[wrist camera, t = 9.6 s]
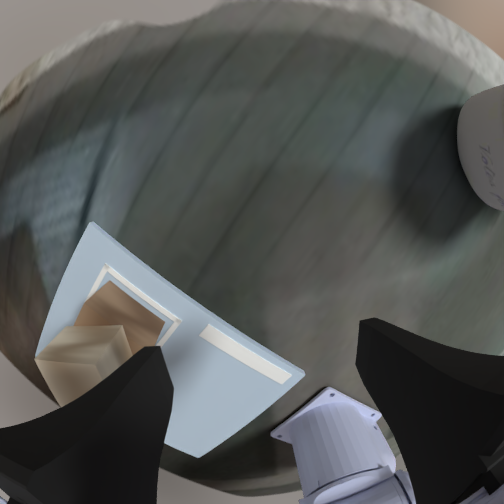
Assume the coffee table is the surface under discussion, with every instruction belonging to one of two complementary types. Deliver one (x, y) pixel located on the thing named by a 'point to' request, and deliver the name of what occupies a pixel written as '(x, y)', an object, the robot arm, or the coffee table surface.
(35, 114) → the coffee table surface
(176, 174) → the coffee table surface
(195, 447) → the board
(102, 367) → the maple block
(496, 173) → the teacup
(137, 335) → the walnut base
